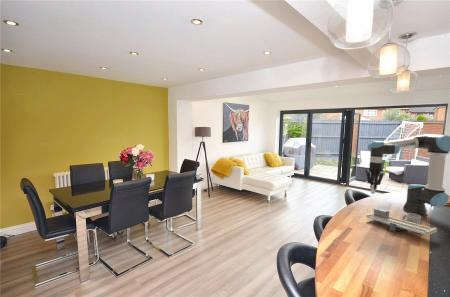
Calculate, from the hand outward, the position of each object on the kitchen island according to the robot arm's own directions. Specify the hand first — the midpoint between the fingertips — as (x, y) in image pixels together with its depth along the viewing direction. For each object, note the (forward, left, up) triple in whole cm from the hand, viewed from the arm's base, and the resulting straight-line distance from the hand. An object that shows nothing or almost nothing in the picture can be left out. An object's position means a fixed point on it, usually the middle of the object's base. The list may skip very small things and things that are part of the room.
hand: (372, 193), depth 167 cm
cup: (-14, +19, -21) cm, 31 cm away
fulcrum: (0, +18, -20) cm, 27 cm away
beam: (0, +18, -16) cm, 24 cm away
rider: (0, +7, -16) cm, 17 cm away
